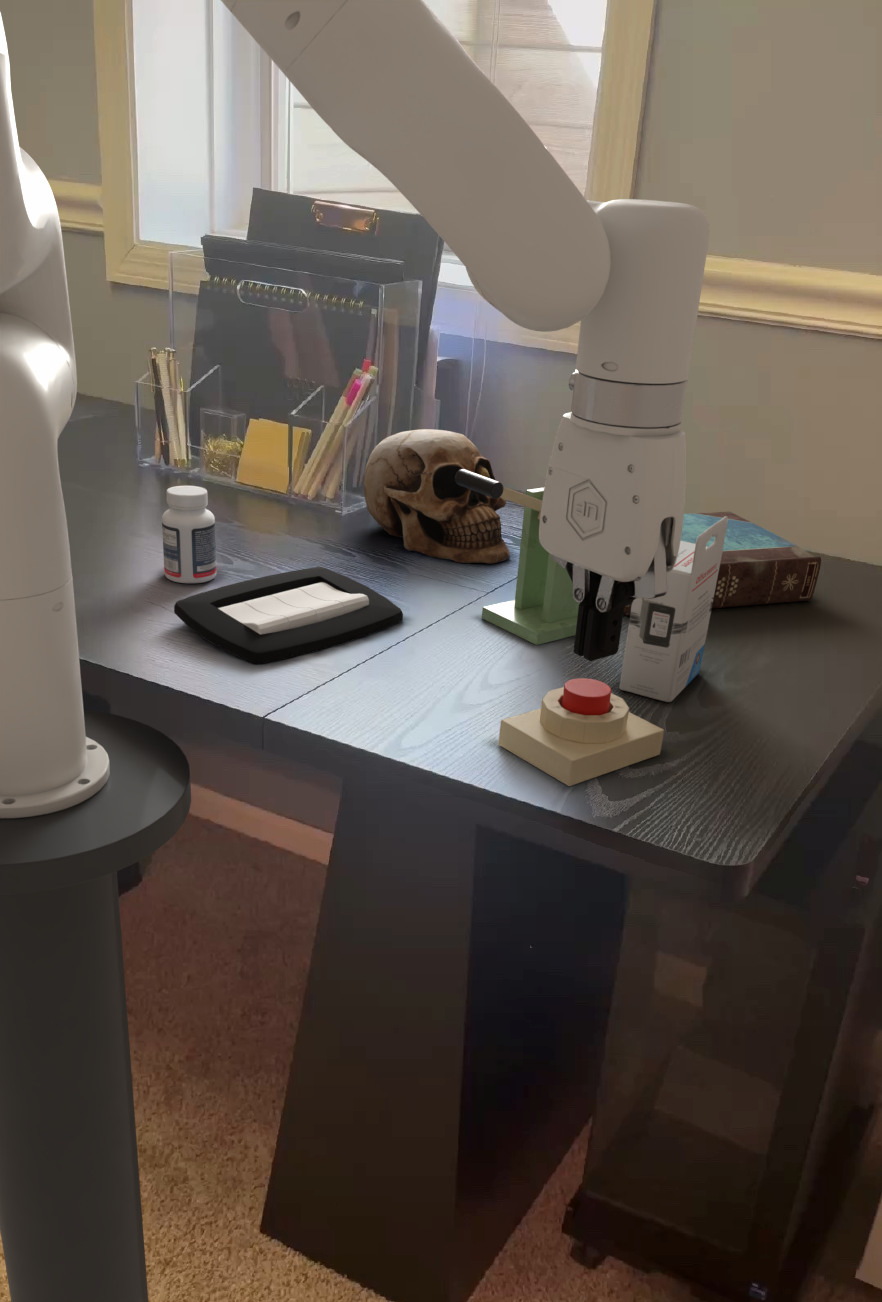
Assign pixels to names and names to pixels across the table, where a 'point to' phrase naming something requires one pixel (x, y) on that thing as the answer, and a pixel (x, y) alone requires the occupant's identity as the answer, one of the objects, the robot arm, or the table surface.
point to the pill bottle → (188, 536)
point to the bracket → (537, 591)
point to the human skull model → (434, 496)
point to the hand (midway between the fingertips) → (595, 653)
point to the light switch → (287, 614)
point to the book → (754, 563)
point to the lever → (495, 489)
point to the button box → (579, 739)
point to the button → (586, 696)
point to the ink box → (674, 622)
